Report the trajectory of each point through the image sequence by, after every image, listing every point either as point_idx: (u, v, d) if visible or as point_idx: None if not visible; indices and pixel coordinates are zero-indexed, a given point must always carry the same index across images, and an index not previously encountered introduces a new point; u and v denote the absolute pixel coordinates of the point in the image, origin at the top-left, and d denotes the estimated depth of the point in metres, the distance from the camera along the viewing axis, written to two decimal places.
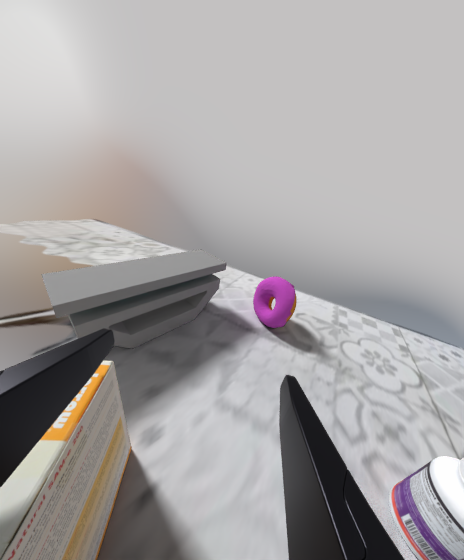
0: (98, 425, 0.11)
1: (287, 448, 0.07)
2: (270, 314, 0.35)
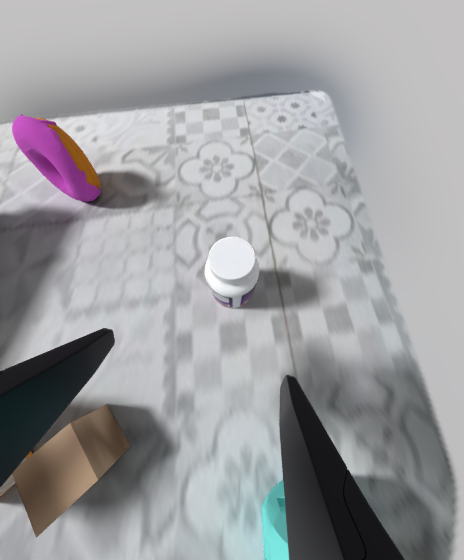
0: None
1: (287, 448, 0.07)
2: (69, 187, 0.25)
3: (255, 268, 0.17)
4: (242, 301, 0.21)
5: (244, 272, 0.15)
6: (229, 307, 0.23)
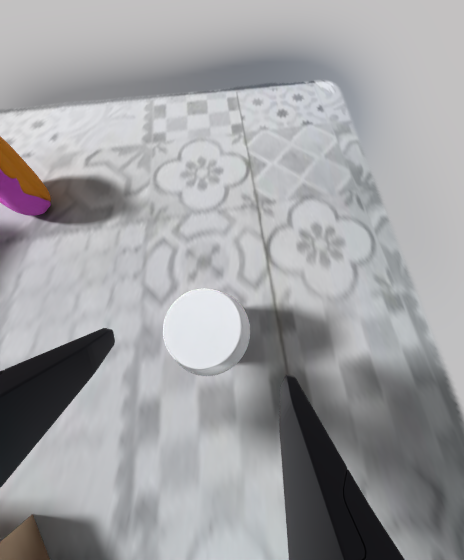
0: None
1: (287, 448, 0.07)
2: None
3: (244, 331, 0.11)
4: None
5: (221, 355, 0.09)
6: None
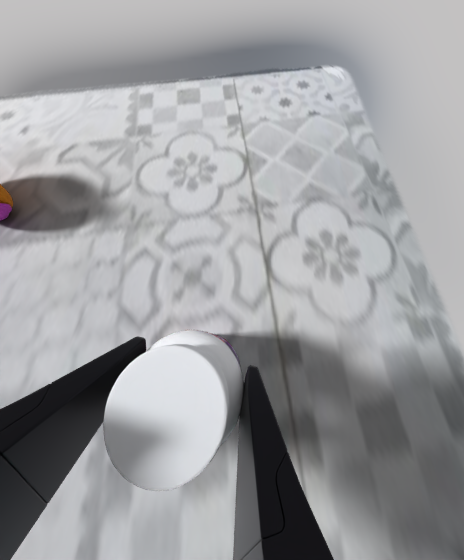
0: None
1: (241, 435, 0.07)
2: None
3: (234, 395, 0.08)
4: None
5: (193, 466, 0.05)
6: None
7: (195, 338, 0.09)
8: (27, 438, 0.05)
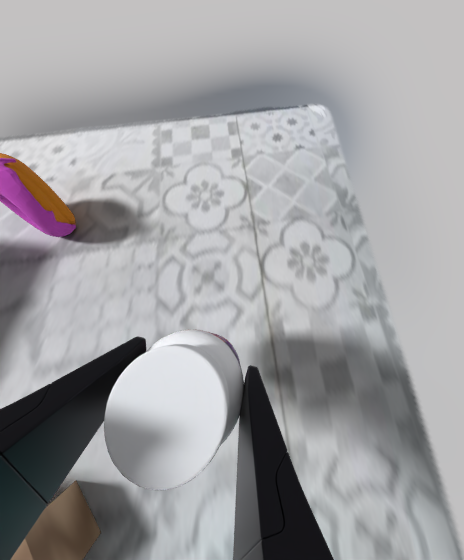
0: None
1: (241, 435, 0.07)
2: None
3: (234, 395, 0.08)
4: None
5: (193, 465, 0.05)
6: None
7: (195, 338, 0.09)
8: (27, 438, 0.05)
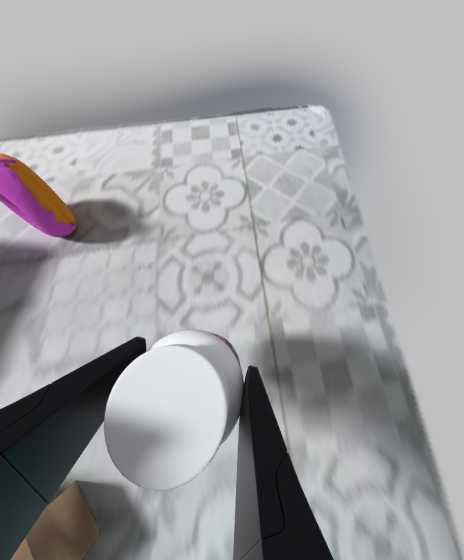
0: None
1: (241, 435, 0.07)
2: None
3: (234, 395, 0.08)
4: None
5: (193, 465, 0.05)
6: None
7: (195, 338, 0.09)
8: (27, 438, 0.05)
